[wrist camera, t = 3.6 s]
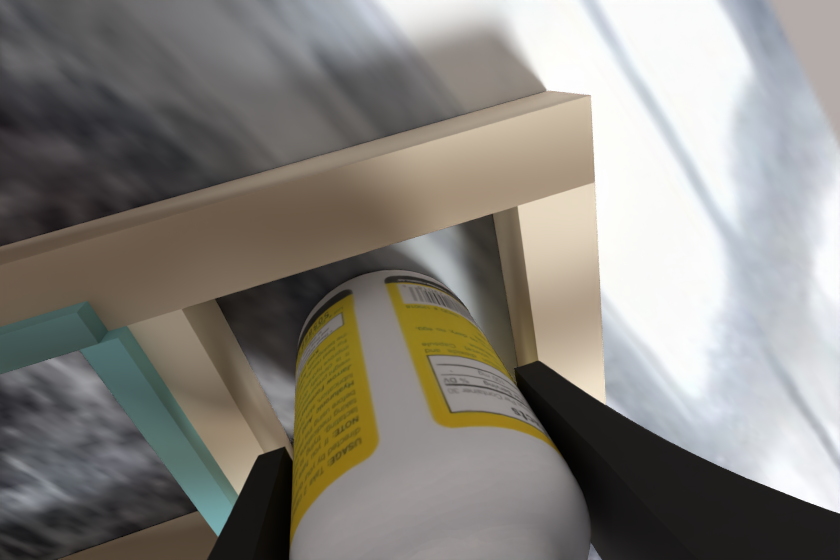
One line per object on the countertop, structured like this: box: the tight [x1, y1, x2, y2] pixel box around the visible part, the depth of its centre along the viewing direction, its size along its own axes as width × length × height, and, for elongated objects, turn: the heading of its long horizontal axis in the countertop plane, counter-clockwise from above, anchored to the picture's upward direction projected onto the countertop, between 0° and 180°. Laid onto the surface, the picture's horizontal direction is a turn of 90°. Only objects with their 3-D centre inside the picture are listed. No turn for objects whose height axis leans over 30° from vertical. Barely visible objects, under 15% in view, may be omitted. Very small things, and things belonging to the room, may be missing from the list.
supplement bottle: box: [289, 270, 591, 560], centre depth 10 cm, size 5×5×10 cm
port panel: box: [0, 91, 606, 560], centre depth 12 cm, size 12×22×2 cm, turn 103°
